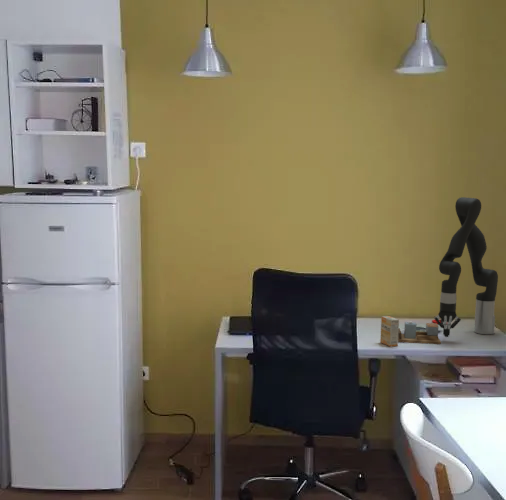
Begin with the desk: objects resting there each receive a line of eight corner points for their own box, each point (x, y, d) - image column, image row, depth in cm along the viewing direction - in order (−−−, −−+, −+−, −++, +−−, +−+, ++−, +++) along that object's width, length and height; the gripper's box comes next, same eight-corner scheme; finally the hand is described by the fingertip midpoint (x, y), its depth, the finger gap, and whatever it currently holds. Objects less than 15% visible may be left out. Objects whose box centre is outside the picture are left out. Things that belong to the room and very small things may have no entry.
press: (436, 337, 328) (437, 329, 328) (440, 344, 316) (441, 335, 316) (396, 336, 331) (396, 327, 330) (398, 342, 319) (398, 333, 318)
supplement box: (379, 342, 317) (380, 316, 316) (388, 341, 319) (389, 315, 318) (389, 347, 310) (390, 319, 308) (398, 346, 312) (399, 319, 310)
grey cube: (435, 336, 325) (436, 323, 324) (437, 339, 319) (438, 326, 318) (425, 335, 326) (426, 323, 325) (427, 338, 320) (427, 325, 319)
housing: (414, 336, 326) (415, 320, 325) (415, 338, 321) (416, 323, 320) (404, 335, 326) (404, 320, 325) (405, 338, 322) (405, 322, 321)
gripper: (435, 302, 316) (433, 337, 318) (463, 303, 315) (461, 338, 317) (433, 299, 324) (431, 333, 326) (460, 300, 322) (458, 335, 324)
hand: (446, 336), depth 321 cm, fingers closed
